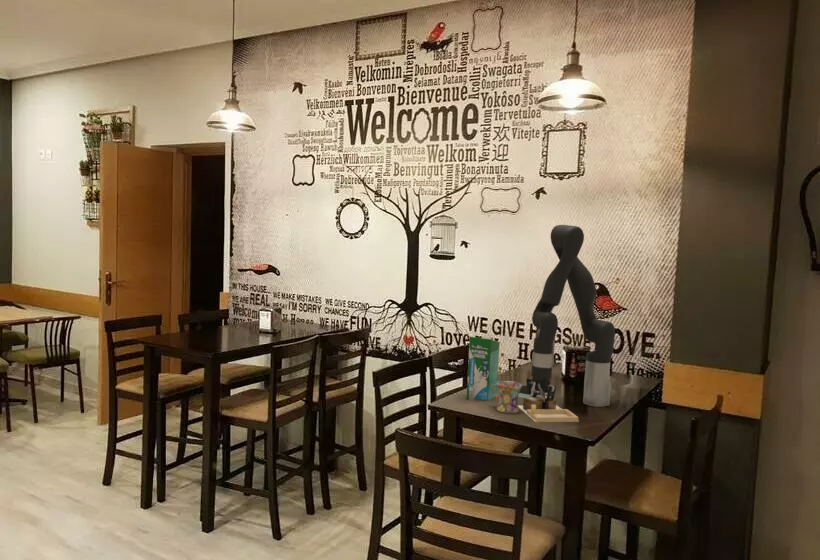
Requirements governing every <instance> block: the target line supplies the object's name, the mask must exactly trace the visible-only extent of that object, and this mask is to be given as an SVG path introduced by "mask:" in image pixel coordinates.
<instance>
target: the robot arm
mask: <svg viewBox="0 0 820 560" xmlns="http://www.w3.org/2000/svg"><path fill="white" fill-rule="evenodd" d="M584 240H585V233H584V230H583V229H582V228H581V227H580V226H576V225H568V224H557V225H555V226H554V227H553V228H552V229H551V231H550V242H551V246H552V248H553V250H554V252H555V254H556V255H557V258H558V260H559V261H558V262H557V264H556V266H555V267H554V269H552V271H551V272H550V273H549V275H548V277H547V279H546V280H545V282H544V286H543V289H542V293H541V297H540V299H539V301H538V303H537V305H535V308H534V310H533V313H532V317H531V321H532V325H533V326H534V327H535V328H537V329H540V332H539V336H537V337H536V336H535V337H534V339H533V350H532V357H531V371H530V376H531V377H529V378H526V386H527V394H529V395H530V397H537V395H538V393H539V392H540V394H541V396H542V399H543V403H542V409H548V407H549V402H550V401H553V400H554V399H555V394H556V390H557V389H556V388H557V387H556V385H552V384H551V382H550V380H551V379H552V375H553V366H554V362H553V355H552V353H553V341H554V338H555V339H556V335H557V332H558V326H559V321H558V317H557V315H556V314H555V313H554V312H553V309H554V308H555V307H557V306H559V305H560V303H561V299H562V297H563V293H564V289H565V286H566V283H567V284H568V287H569V291H570V293H571V295H572V297H573V300H574V304H575V307H576V310H577V314H578V317H579V322H580V327H581V330H582V334H583V337H584V338H585V340H587V341H588V342H589V343H593V344H596V348H595V350H592V351H588V352H586V355H585V369H584V382H583V385H584V386H583V397H582V399H583V400H582V403H583V404H585V405H587V406H590V407H596V408H604V407H606V406H608V407H610V404H611V403H610V402H611V401H610V400H611V391H612V390H611V389H612V382H611V381H610V371H611V370H610V369H611V359H612V356H613V353H614V348H615V347H614V345H615V338H616V330H615V329H616V328H615V325H614V324H613V323H612V322H611V321H607V320H601V319H597V317H596V313H595V312H594V303H595V299H596V297H597V287H596V284H595V281H594V278H593V275H592V273H591V272H590V271H589V269H588V268H587V266H586V265H584V263H583V262H582V261H581V260H580V258H579V257H578V256H579V253H580V252H581V249H582V247H583V244H584ZM552 365H553V366H552ZM530 388H531V391H530ZM543 392H546V393H543ZM545 395H546V398H545ZM550 396H551V398H550Z"/></svg>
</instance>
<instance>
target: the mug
mask: <svg viewBox="0 0 820 560" xmlns="http://www.w3.org/2000/svg"><path fill="white" fill-rule="evenodd" d="M493 386H497V390H498V395H499V397H498V396H496V395H495V393H494V391H493ZM522 386H523V383H520V382H518V381H512V380H499V381H497V385H496V384H494V385H492V387H491V390H492V393H493V394H494V396H495V397H494V398H496V399H497V400H498V401H497V403H498V404H497V406H496V410H497V411H498V412H502V413H506V414H516V413H519V412H520V411H521V409H520V408H519V407H518V405H519V402H518V401H519V399H518V398H519V397H518V395H519V392H520V389H521V387H522Z"/></svg>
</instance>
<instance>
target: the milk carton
mask: <svg viewBox="0 0 820 560" xmlns="http://www.w3.org/2000/svg"><path fill="white" fill-rule="evenodd" d="M499 359H500V341H497V340H495V339H494V340H493V337H491V336H485V335H482V336H481V337H476V336H475V337H474V336H469V345H468V361H467V364H468V365H467V379H466V380H467V382H466V383H467V384H466V386H467V387H466V400H470V401H472V400H474V401H475V400H481V401H490V400H491V399H494V398H496V397H495V396H494V394H493V393H492V390H491V387H492V385H494V384H496V385H497V382H498V380H499V379H498V378H499V362H500V361H499ZM493 391H494V393H495V395H496V396H497V395H498V387H497V386H493ZM497 397H498V396H497Z"/></svg>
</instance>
